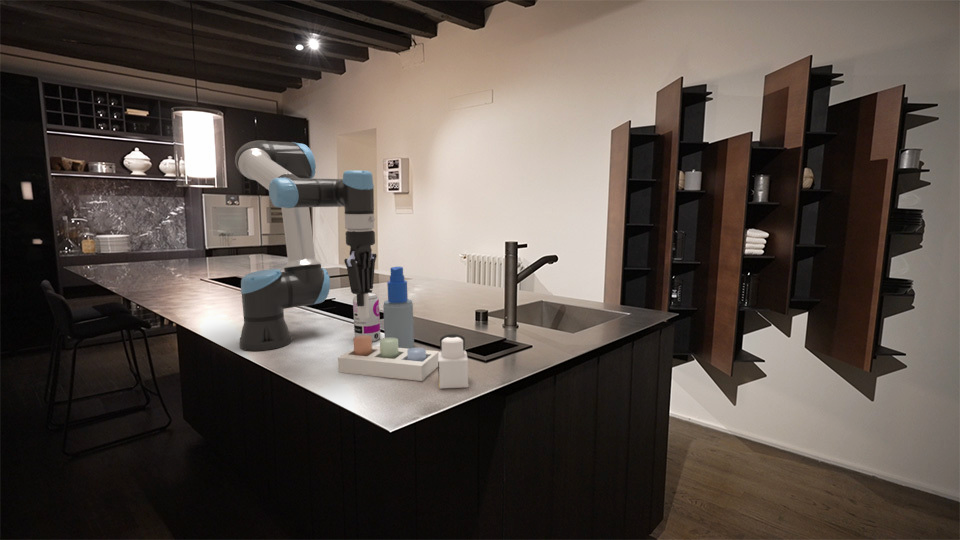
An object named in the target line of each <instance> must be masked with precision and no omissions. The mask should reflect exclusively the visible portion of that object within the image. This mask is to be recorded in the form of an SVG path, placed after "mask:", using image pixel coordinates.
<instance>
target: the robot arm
mask: <svg viewBox="0 0 960 540" xmlns="http://www.w3.org/2000/svg"><path fill="white" fill-rule="evenodd" d="M234 159H235V160H234V161H235V166H236V168H237V170H238V171H239V173H240V174H241V175H243V176H244V177H246V178H247V179H248V180H251V181H256V182H257V183H259V184H260V185H261V186H262V187H264V189H266V190H268V195H269V199H270V201H271V204H272V205H273V206H274V207H276V208H280V209H281V216H282V221H283V222H282V223H283V231H284V238H285V247H286V248H285V249H286V255H287V263H286V264H285V265H284V267H283V270H284V272H282V271H281V269H279V268H270V269H262V270H257V271H253V272H250V273H248V274H245V275H244V276H242V278H241V280H240V293H241V302H242V313H243V314H242V315H243V324H242V325H243V326H242V330H241V333H240V338H239V348H240V350H244V351H251V352H253V351H254V352H259V351H261V352H262V351H268V350H270V351H271V350H274V349H275V350H276V349H279V348H282V347H283V348H284V347H285V346H288V345H289V344H291V343H292V333H291V332H290V330H289V328H288V324H287V322H286V320H285V316H284V315H285V312H284V310H286V309H290V308H297V307H305V306H313V305H317V304H322V303H323V302H325V300H326V299H327V298H328V297H329V296H328V295H329V294H330V290H331V279H330V278H331V277H330V275H329V272H328V270H327V269H326V268H323V267H322V263H321V262H320V261H319V260H318V259H317V258H316V252H315V245H314V244H315V243H314V236H313V229H312V228H313V227H312V221H311V220H312V219H311V212H310V208H344V229H346V231H345V244H346V246H349V247H350V250H349V257H348V258H344V260H343V261H344V262H343V263H344V265H345V266H346V270H347V276H348V277H347V278H348V281H349V287H350V292H351V294H353V295H355V294H356V295H357V315H358V317H360V318H368V317H369V296H368V293H373V289H374V279H375V266H376V260H377V254H376V253H373V252H372V246H374V245H375V244H376V232H375V230H374V229H375V221H376V218H375V214H374V213H375V212H374V210H375V197H374V188H375V185H374V179H373V173H372V172H371V171H370V170H360V169H359V170H358V169H357V170H356V169H355V170H353V169H352V170H348V169H347V170H345V171H343V174H342V178H314V177H315V174H316V168H317V164H316V160H315V156H314V154H313V151H312V149H311V148H310V147H308V145H306V144H304V143H299V142H294V141H291V142H290V141H273V140H271V141H270V140H253V141H249V142H246V143H245V144H243V145H242V146H241V147H240V148H239V149H237V152H236V154H235V157H234Z"/></svg>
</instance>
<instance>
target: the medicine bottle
mask: <svg viewBox="0 0 960 540" xmlns="http://www.w3.org/2000/svg"><path fill="white" fill-rule="evenodd" d="M465 339H466V338H465V337H464V336H463V335H460V334H456V333H454V334H453V333H452V334H451V333H450V334H446V335H443V336H442V337H440V339H439V350H440V351H439V352H438V367H437V369H438V371H437V372H438V389H440V390H441V389H461V388H466V389H467V388H469V359H468V354H467V351H466V347H465V346H466V343H465V342H466V340H465Z"/></svg>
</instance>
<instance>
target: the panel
mask: <svg viewBox="0 0 960 540" xmlns="http://www.w3.org/2000/svg"><path fill="white" fill-rule="evenodd" d="M407 350H408V349H407V348H398V354H399V356H398V357H397V358H395V359H390V358H380V345H373V344H372V354H370V355H369V356H359V355H354V348H353V349H351V350H349V351H347V352H345V353H343V354H342V355H340V356H339V357H337V362H338V363H337V364H338V366H337V367H338V373H344V374H353V375H363V376H373V377H381V378H389V379H390V378H391V379H397V380H398V379H400V380H409V381H417V382H423V381H424V380H425V379H426V378H427V377H428V376H430V375H431V374H432V373H433V372H434V371H435V370H436V369H438V352H440V351H438V350H429V349H426V359H425V360H424V361H423V362H421V361H411V360H408V354H407Z"/></svg>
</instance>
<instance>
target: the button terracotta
mask: <svg viewBox="0 0 960 540" xmlns="http://www.w3.org/2000/svg"><path fill="white" fill-rule="evenodd" d="M372 343H373V342H372V338H371V336H367V335H362V336H357V337H355V336H353V349H354V355H359V356H369V355H370V354H372V345H373V344H372Z"/></svg>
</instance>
